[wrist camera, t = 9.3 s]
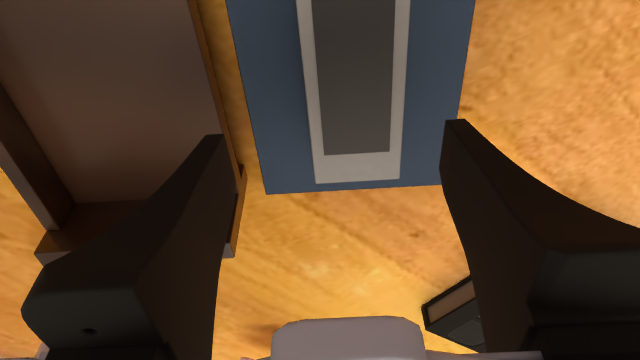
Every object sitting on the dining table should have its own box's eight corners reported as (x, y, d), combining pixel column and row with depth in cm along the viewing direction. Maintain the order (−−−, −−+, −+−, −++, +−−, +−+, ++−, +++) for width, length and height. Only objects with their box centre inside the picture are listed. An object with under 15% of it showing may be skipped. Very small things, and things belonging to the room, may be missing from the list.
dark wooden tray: (247, 179, 28) (234, 258, 23) (87, 189, 28) (44, 268, 24) (133, -295, 14) (50, -323, 10) (-172, -263, 15) (-384, -276, 10)
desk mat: (445, 180, 28) (446, 184, 27) (266, 190, 28) (266, 194, 28) (517, -288, 14) (521, -289, 14) (174, -254, 15) (171, -254, 15)
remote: (393, 148, 26) (400, 181, 23) (315, 153, 26) (315, 186, 24) (407, -161, 16) (421, -150, 14) (284, -150, 16) (280, -138, 14)
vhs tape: (419, 307, 37) (424, 329, 36) (576, 208, 29) (590, 231, 28) (480, 334, 40) (486, 356, 39) (637, 251, 32) (652, 274, 31)
